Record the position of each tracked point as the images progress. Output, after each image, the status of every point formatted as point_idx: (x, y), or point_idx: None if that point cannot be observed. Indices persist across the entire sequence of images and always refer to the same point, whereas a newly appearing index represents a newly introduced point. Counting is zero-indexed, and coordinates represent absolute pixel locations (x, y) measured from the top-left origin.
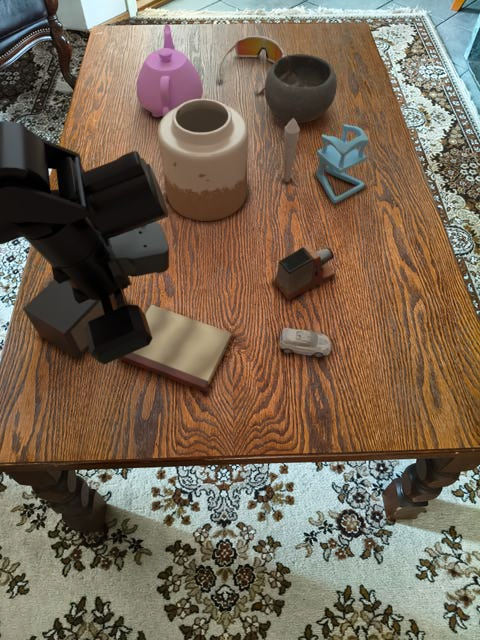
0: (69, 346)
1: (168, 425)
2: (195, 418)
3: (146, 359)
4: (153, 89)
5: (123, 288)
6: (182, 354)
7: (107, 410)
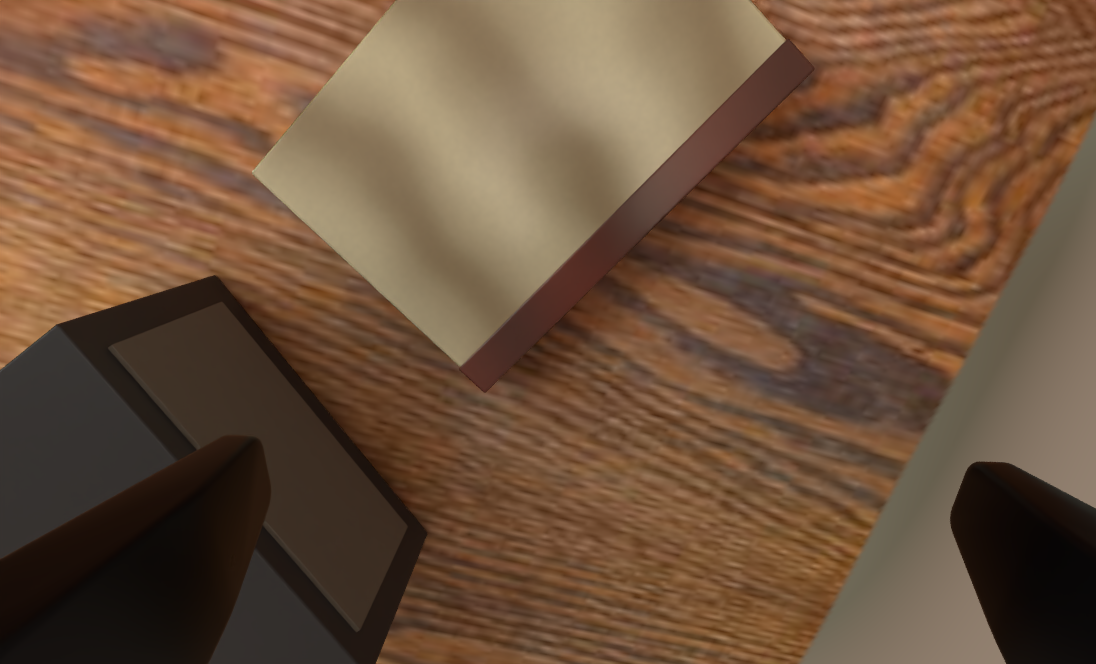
0: (397, 600)
1: (866, 282)
2: (894, 163)
3: (553, 286)
4: None
5: (262, 478)
6: (591, 113)
7: (692, 483)
